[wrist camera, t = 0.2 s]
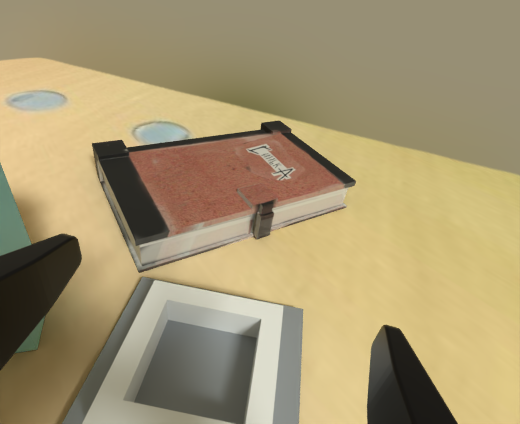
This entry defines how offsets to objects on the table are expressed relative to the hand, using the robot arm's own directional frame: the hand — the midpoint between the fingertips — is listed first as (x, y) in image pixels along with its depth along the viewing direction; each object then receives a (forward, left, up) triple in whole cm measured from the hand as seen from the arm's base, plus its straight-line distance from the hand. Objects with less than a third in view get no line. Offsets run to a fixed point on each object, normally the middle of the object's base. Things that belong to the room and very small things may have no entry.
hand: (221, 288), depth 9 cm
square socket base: (+5, +2, -17) cm, 17 cm away
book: (+27, +8, -17) cm, 33 cm away
